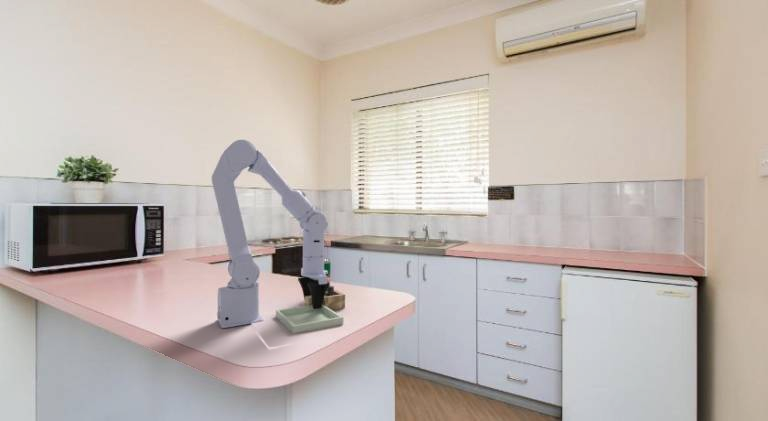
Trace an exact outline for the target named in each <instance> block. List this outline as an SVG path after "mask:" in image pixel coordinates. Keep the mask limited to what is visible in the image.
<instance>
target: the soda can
mask: <svg viewBox="0 0 768 421" xmlns="http://www.w3.org/2000/svg"><path fill="white" fill-rule="evenodd" d="M331 266H332V265H331V261H330V259H329V258H327V257H326V258H325V257H324V270H326V271H328V274H325V275H326V276H327V282H329V283H330V284H329V286H332V284H331V279H332V277H331ZM326 292H327V290H326Z"/></svg>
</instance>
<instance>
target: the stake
mask: <svg viewBox="0 0 768 421" xmlns="http://www.w3.org/2000/svg"><path fill="white" fill-rule="evenodd" d="M334 290H335V287H334V286H333V285H331V286H329V287H328V288H327V296H333V295H334ZM344 308H346V306H345V307H344ZM344 308H343V309H344ZM338 309H340V308H338ZM338 309H337V310H338ZM332 311H334V309H332Z"/></svg>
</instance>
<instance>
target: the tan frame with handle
mask: <svg viewBox="0 0 768 421" xmlns="http://www.w3.org/2000/svg"><path fill="white" fill-rule="evenodd" d="M322 304H323V305H324V306H326V307H328V308H329V309H331V310H332V309H333V310H338V308H339V309H344V307H345V308H346V294H345V293H342V292H340V291H338V290H335V289H334V295H333V296H327V292H326V293H325V296H324V299H323V303H322ZM307 305H312V298H311V295H310V296H305V300H304V306H307ZM333 310H332V311H333Z"/></svg>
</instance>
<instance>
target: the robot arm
mask: <svg viewBox="0 0 768 421" xmlns="http://www.w3.org/2000/svg"><path fill="white" fill-rule="evenodd" d="M247 168H248V169H247ZM245 169H247V172H249V173H252V174H256V175H260V177H261V178H262V179H263V180H264V181H265V182H267V183H268V184H269V186H270V187H271V188H273V189H274V190H275V191H276V193H277V194H278V195H280V197H281V200H282V201H281V205H282V206H283V207H284V208H285V209H286V210H287V211H288V212H289V213H290V214H291V215H292V216H293V217H294V219H295V220H296V221H297V222H299V226H300V228H301V229H303V230H302V234H303V235H302V267H301V268H300V274H301V276H302V277H298V278H297V281H298V282H299V284H300V287H301V290H302V295H303V298H304V299H303V300H304V301H305V296H310V295H311V298H312V306H313V309H319V308H321V307H322V303H323V299H324V296H325V293H326V290H327V288H328V287H329V284H330V283H329V282H327V276H326V275H325V274H328V271H326V270H324V258H325V231H326V230H327V228H328V224H329V223H328V222H327V218H326V217H325V215H324V214H323V213H321V212H318V207H317V206H316V205H315V206H314V205H313V204H312V203H311V202H310V201H309V200H308V198H307V194H306V192H304V191H300V189H293V188H291V186H290V185H289V184H288V183H287V182H286V180H285V179H284V177H282V175H281V174H280V173H279V172H278V171H277V170H276V169H275V167H274V166H273V165H272V163H271V162H270V161H269V159H267V158H266V156H265V155H264V153H262V152H261V151H260V150H259V149H256V147H255V146H254V144H253V143H252V142H250V141H249V140H246V139H237V140H235V141H232V143H231V144H230V145H229V146H227V148H226V149H225V150H224V151H223V153H222V154H221V156H220V158H219V159H218V162H217V164H216V167H215V168H214V170H213V173H212V175H211V183H212V187H213V191H214V195H215V196H214V197H215V200H216V204H217V209H218V211H219V218H220V220H221V224H222V225H221V226H222V229H223V233H224V238H225V243H226V247H227V251H228V257H229V258H228V260H229V263H228V266H227V272H228V273H229V276H230V277H231V278H230V280H229V281H228V282H227V286H222V287H219V288H218V289H217V313H216V314H217V315H216V316H217V322H218V324H219V325H220V328H221V329H226V328H233V327H238V326H239V327H240V326H245V325H251V324H254V323H260V322H264V319H263V318H262V316H261V315H260V311H259V310H260V308H259V307H260V306H259V305H260V300H259V299H260V298H259V296H260V292H259V290H260V286H259V285H260V284H259V283H260V282H259V280H258V279H259V277H260V273H261V271H260V268H259V267H260V266H258V264H257V263H256V262H255V261H254V258H253V256H252V252H251V249H250V247H249V243H248V238H247V235H246V234H247V233H246V230H245V226H244V221H243V218H242V217H243V216H242V214H241V209H240V205H239V200H238V195H237V192H236V188H235V187H236V186H235V181H236V180H237V179H238V177H239V176H240V175H241V174H242V172H243V171H244V170H245Z"/></svg>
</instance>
